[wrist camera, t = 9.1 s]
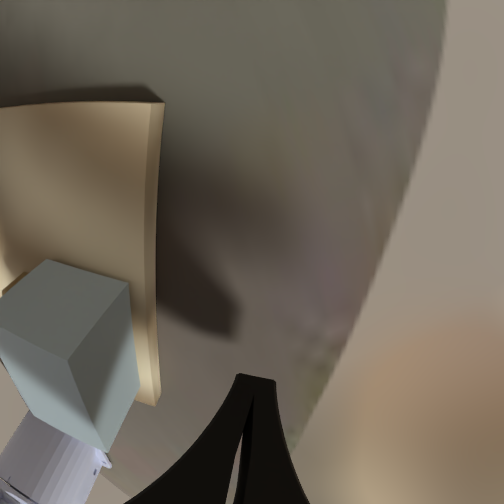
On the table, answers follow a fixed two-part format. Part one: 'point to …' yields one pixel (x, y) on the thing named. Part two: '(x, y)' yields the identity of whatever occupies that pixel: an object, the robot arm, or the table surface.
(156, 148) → the plate
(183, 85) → the table surface
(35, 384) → the block
